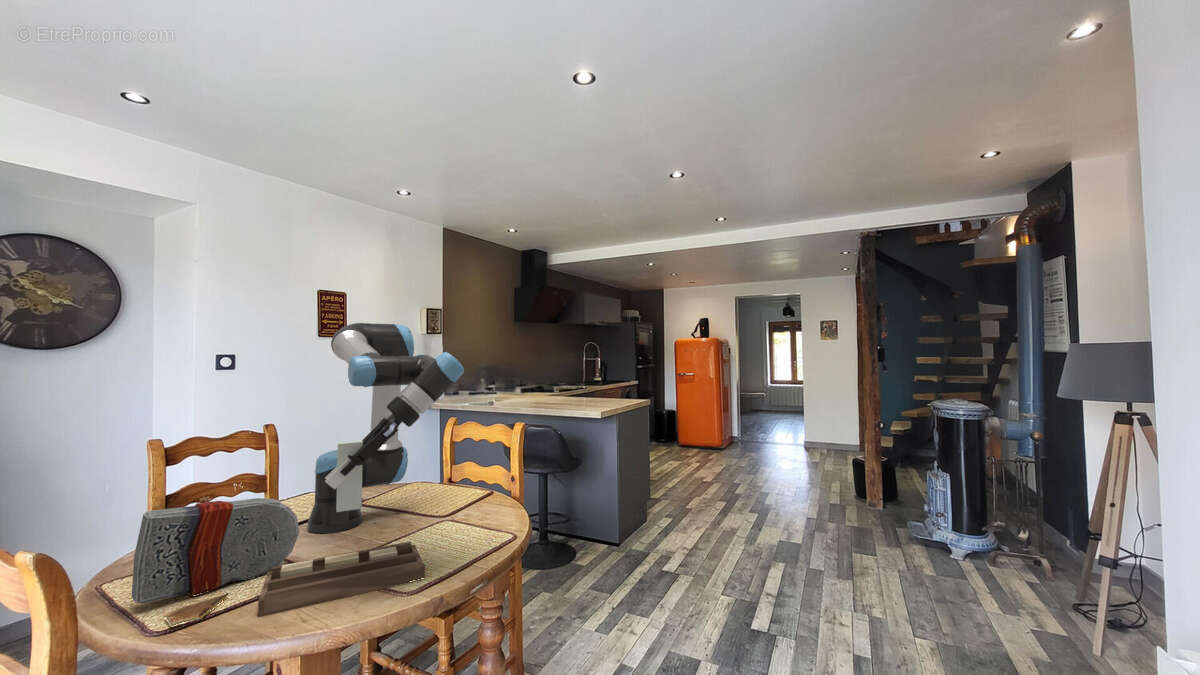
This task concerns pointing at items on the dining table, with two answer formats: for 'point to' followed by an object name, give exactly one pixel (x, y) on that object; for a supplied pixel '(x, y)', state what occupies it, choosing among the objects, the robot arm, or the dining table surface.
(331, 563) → the birch offcut
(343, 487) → the tall sheet
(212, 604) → the shard
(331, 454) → the robot arm
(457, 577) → the dining table surface
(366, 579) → the walnut rack
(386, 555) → the birch offcut
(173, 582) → the decorative stone tablet
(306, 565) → the birch offcut
